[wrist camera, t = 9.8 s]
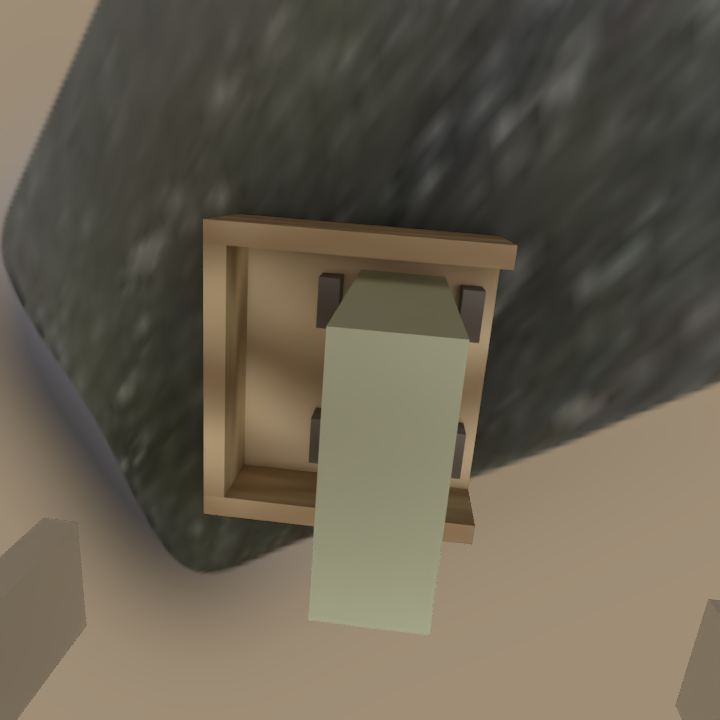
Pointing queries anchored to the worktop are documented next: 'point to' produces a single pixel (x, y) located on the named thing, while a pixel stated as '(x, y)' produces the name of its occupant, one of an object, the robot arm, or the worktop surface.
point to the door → (386, 450)
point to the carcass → (315, 349)
